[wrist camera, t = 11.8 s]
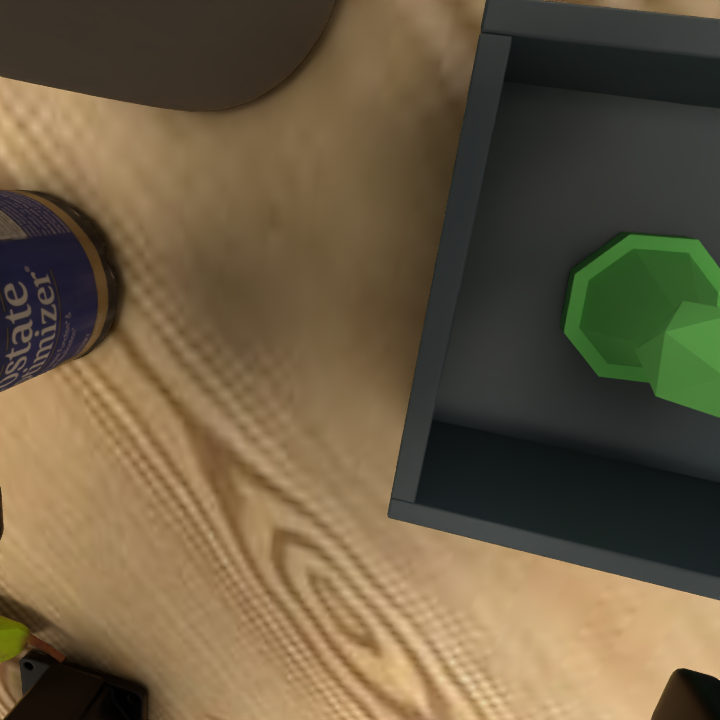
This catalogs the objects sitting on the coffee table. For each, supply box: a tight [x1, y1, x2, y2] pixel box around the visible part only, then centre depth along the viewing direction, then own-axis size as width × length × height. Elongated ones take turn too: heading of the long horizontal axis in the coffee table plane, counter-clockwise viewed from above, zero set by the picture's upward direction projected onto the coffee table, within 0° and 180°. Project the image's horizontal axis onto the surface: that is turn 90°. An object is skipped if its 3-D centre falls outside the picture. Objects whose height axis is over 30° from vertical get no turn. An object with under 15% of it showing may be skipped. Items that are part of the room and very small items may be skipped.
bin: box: [387, 0, 720, 600], centre depth 13 cm, size 11×11×6 cm
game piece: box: [560, 232, 720, 418], centre depth 13 cm, size 4×4×6 cm
